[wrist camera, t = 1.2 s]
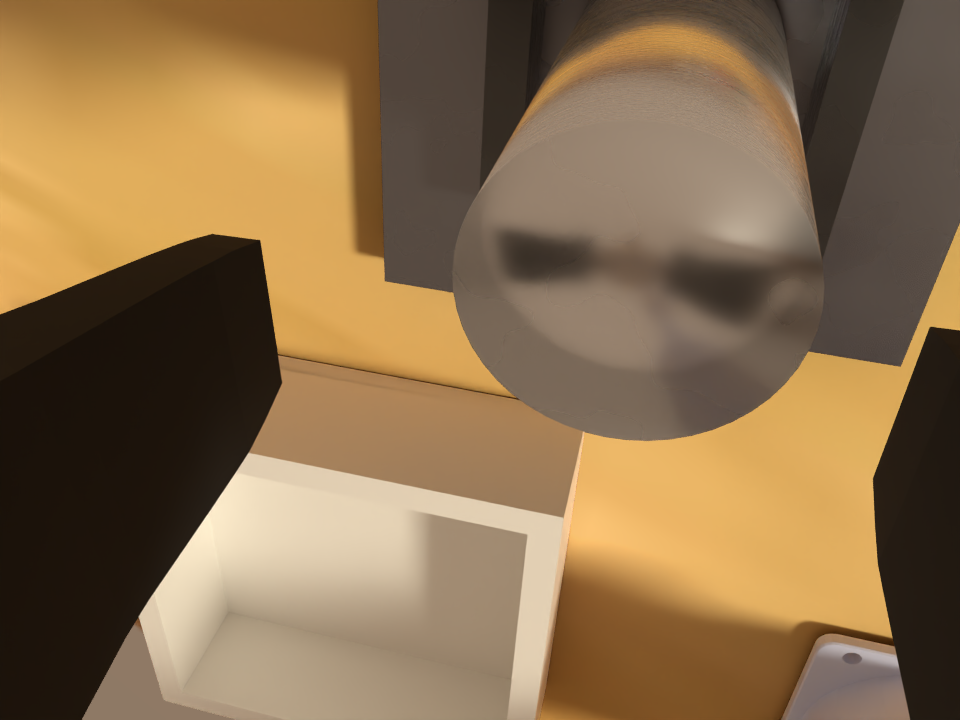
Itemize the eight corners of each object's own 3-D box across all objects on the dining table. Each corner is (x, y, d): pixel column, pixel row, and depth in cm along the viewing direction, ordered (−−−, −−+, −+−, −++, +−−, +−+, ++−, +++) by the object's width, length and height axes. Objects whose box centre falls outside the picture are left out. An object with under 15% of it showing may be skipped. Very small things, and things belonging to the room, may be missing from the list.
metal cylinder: (810, -42, 15) (877, 149, 8) (757, 172, 17) (772, 468, 10) (584, -62, 16) (456, 96, 9) (562, 146, 18) (448, 407, 11)
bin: (587, 412, 23) (563, 518, 20) (545, 686, 31) (523, 794, 27) (161, 333, 25) (79, 417, 22) (219, 608, 33) (163, 700, 30)
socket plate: (1156, -319, 13) (1233, -331, 11) (894, 342, 20) (911, 407, 18) (388, -349, 15) (335, -363, 13) (397, 261, 22) (363, 313, 20)
